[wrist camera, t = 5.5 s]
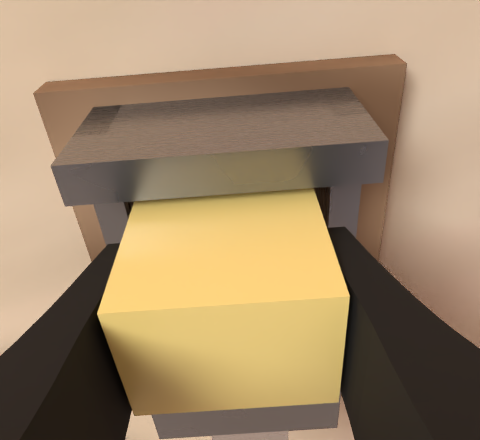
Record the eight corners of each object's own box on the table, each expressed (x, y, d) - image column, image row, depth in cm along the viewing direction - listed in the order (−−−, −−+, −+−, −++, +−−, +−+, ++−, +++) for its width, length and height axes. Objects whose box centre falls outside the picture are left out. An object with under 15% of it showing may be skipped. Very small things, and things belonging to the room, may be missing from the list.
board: (353, 375, 21) (358, 394, 20) (145, 389, 21) (142, 408, 20) (394, 54, 12) (407, 63, 11) (46, 82, 12) (33, 93, 12)
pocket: (335, 274, 16) (359, 354, 13) (142, 288, 16) (123, 370, 13) (348, 86, 12) (388, 139, 9) (93, 107, 12) (50, 166, 9)
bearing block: (316, 331, 17) (337, 427, 14) (172, 341, 17) (159, 438, 14) (318, 275, 16) (343, 369, 12) (158, 287, 16) (141, 383, 12)
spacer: (305, 260, 12) (339, 402, 9) (161, 270, 13) (134, 415, 9) (306, 169, 11) (349, 296, 7) (140, 181, 11) (96, 313, 7)
